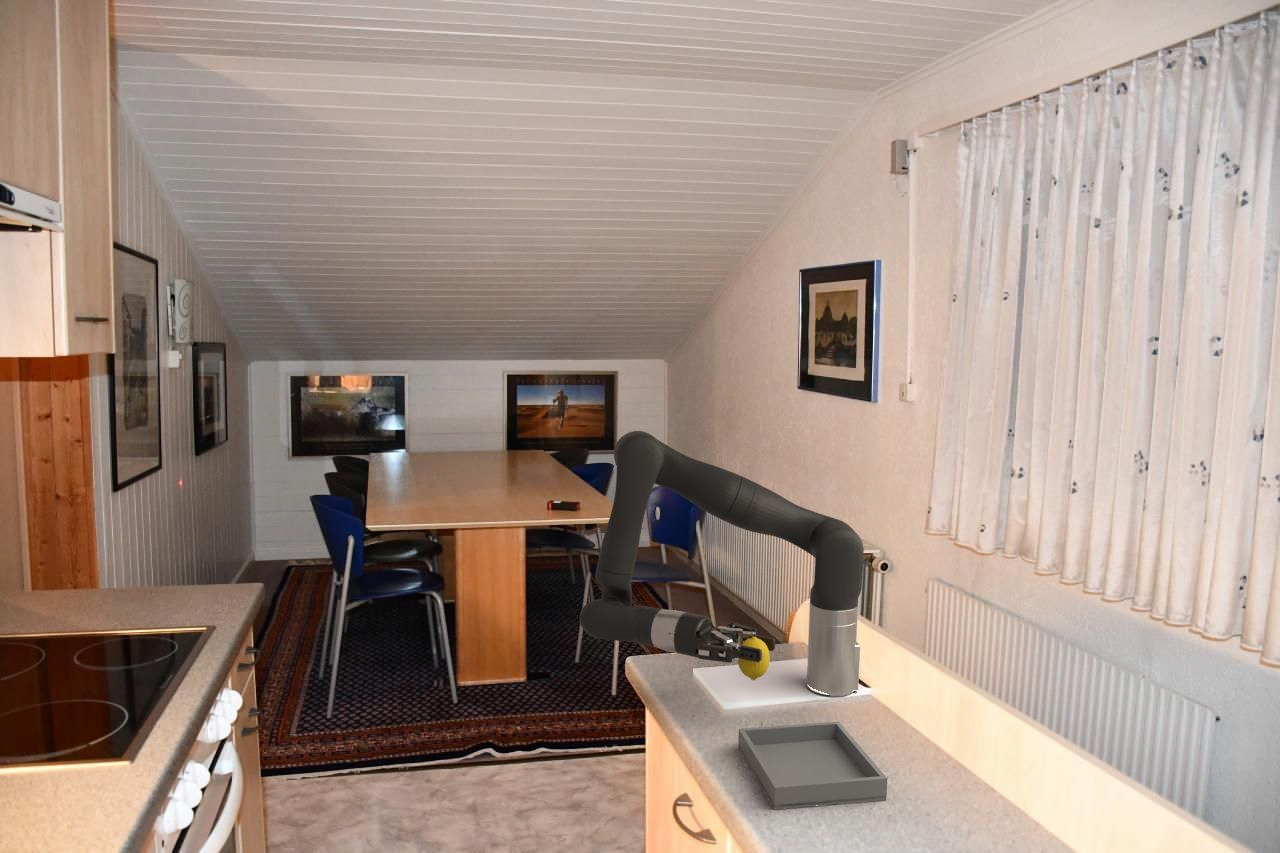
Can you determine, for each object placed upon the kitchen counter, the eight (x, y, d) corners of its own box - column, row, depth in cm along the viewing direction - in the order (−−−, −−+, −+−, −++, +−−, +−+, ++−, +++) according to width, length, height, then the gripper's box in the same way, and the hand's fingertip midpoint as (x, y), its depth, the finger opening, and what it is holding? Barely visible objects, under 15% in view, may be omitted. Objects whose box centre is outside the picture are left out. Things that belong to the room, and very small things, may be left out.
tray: (838, 741, 172) (838, 721, 171) (886, 800, 152) (887, 778, 152) (738, 748, 169) (738, 728, 168) (774, 809, 149) (775, 787, 149)
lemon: (749, 689, 170) (749, 644, 169) (731, 677, 175) (732, 634, 174) (775, 683, 173) (776, 639, 171) (757, 671, 177) (758, 629, 176)
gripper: (662, 624, 173) (751, 642, 165) (699, 601, 186) (784, 617, 177) (662, 665, 174) (751, 685, 166) (699, 639, 187) (782, 657, 178)
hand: (767, 650), depth 172 cm, fingers closed on lemon, 5 cm apart
